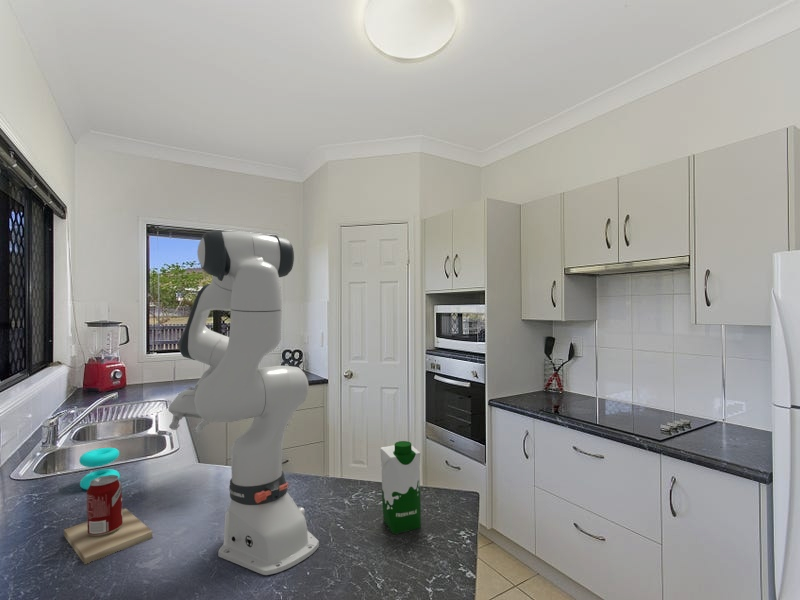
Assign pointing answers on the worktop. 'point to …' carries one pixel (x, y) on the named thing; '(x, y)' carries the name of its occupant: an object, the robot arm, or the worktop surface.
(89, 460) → the donuts
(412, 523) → the milk carton
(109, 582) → the worktop surface
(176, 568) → the worktop surface
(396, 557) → the worktop surface
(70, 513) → the worktop surface
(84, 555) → the cutting board
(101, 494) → the soda can
